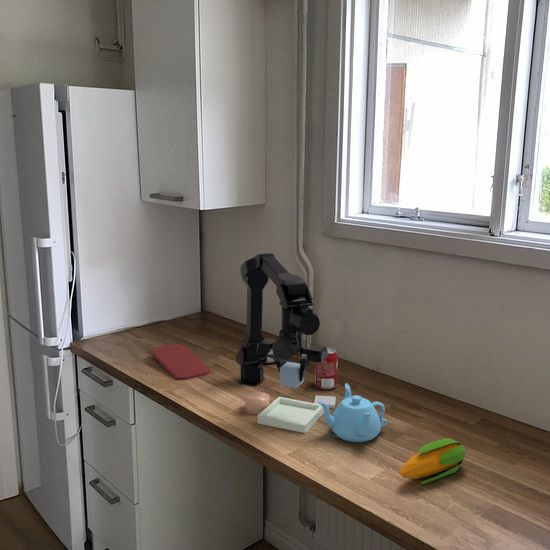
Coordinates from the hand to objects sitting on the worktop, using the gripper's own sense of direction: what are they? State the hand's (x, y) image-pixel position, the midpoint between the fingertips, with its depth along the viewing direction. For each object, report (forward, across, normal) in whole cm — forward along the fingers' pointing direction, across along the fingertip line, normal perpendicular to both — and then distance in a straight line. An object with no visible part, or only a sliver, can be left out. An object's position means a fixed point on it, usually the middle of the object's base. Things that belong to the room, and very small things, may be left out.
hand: (291, 379), depth 170 cm
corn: (+12, +41, -14) cm, 45 cm away
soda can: (+11, +1, +25) cm, 27 cm away
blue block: (+1, 0, 0) cm, 1 cm away
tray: (+11, 0, 0) cm, 11 cm away
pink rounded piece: (+11, -11, +1) cm, 16 cm away
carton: (+12, -51, +21) cm, 56 cm away
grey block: (+12, +5, +13) cm, 18 cm away
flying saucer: (+11, -28, +40) cm, 50 cm away
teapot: (+12, +18, -2) cm, 21 cm away
